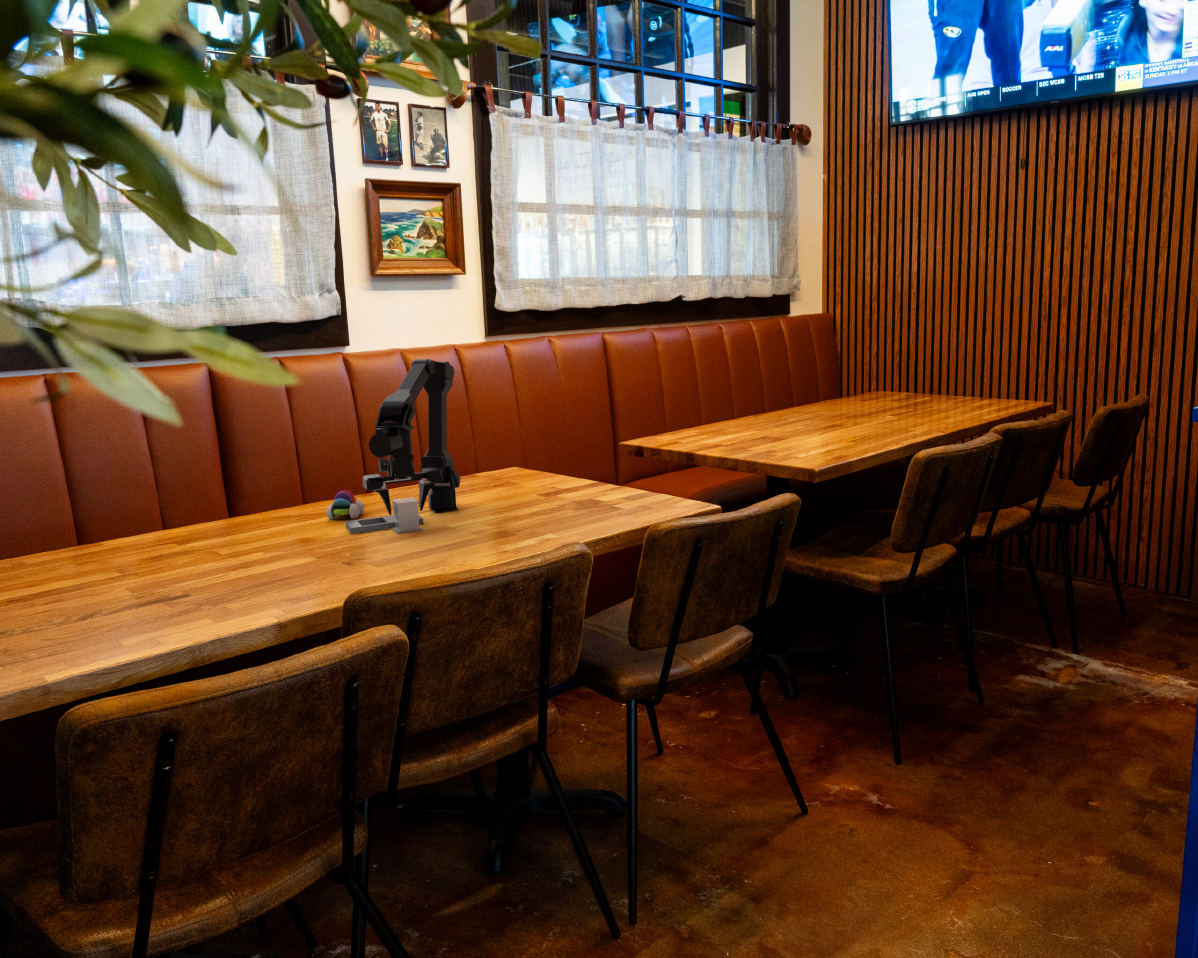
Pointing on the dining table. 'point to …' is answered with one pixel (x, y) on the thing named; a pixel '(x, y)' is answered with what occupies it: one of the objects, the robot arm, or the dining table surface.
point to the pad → (405, 531)
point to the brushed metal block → (406, 514)
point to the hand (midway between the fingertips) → (405, 512)
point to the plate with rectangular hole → (372, 524)
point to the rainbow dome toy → (345, 505)
